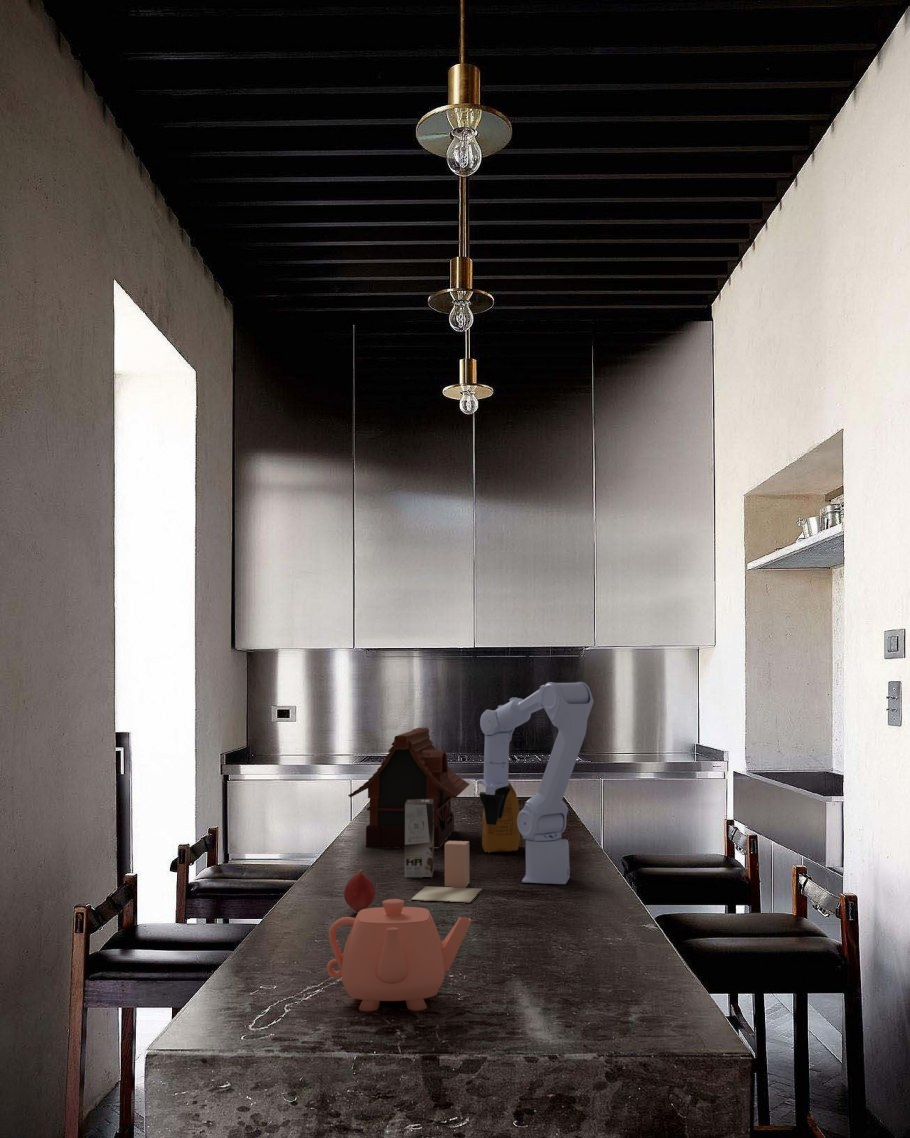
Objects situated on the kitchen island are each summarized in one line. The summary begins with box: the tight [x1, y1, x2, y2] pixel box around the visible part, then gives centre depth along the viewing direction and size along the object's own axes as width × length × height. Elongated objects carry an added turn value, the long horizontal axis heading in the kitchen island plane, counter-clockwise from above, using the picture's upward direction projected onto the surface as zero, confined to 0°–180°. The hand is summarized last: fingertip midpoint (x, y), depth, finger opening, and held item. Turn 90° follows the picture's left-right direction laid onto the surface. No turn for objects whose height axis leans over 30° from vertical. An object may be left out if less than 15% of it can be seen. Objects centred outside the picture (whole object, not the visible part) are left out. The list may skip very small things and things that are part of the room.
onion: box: [343, 869, 376, 914], centre depth 192 cm, size 6×6×8 cm
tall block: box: [444, 840, 470, 887], centre depth 215 cm, size 4×4×9 cm
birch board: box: [410, 885, 483, 902], centre depth 205 cm, size 12×12×1 cm
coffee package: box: [481, 781, 521, 854], centre depth 258 cm, size 10×12×22 cm
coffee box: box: [404, 799, 435, 878], centre depth 229 cm, size 9×6×16 cm
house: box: [348, 727, 470, 848], centre depth 277 cm, size 35×28×29 cm
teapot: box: [326, 898, 472, 1012], centre depth 141 cm, size 16×17×14 cm
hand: (494, 821), depth 235 cm, fingers open, 7 cm apart
